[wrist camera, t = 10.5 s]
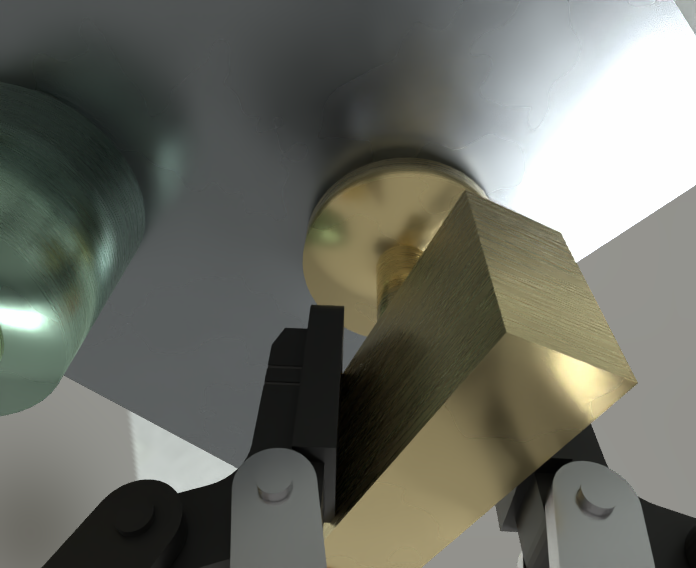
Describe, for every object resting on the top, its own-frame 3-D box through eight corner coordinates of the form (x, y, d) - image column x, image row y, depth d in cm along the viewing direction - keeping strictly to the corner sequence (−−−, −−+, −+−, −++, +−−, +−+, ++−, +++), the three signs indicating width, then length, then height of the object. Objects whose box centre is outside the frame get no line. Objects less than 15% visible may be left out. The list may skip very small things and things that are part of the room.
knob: (378, 75, 12) (387, 288, 6) (569, 168, 13) (732, 422, 7) (263, 312, 17) (203, 573, 11) (415, 366, 18) (440, 628, 12)
